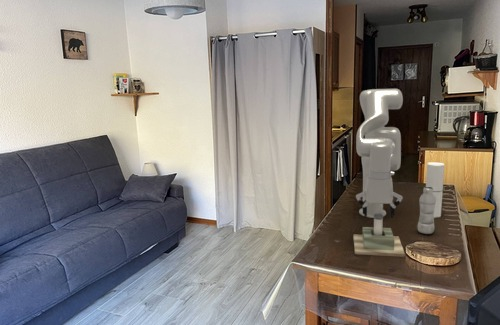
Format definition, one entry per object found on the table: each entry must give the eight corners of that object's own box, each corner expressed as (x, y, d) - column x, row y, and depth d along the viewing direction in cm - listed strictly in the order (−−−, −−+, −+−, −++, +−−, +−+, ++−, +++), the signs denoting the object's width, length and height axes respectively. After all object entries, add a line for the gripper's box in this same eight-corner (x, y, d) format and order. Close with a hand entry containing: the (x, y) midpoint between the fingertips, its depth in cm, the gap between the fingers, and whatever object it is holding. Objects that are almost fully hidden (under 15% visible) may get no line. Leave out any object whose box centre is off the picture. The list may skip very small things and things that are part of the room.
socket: (353, 236, 161) (353, 224, 160) (398, 239, 157) (399, 226, 155) (354, 254, 146) (355, 240, 144) (404, 256, 142) (405, 242, 140)
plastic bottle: (413, 231, 163) (416, 187, 159) (425, 228, 166) (428, 184, 161) (425, 237, 157) (428, 191, 153) (437, 234, 160) (440, 188, 155)
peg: (372, 241, 153) (373, 213, 150) (381, 242, 152) (382, 213, 149) (373, 245, 150) (374, 216, 147) (382, 245, 149) (383, 216, 146)
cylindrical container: (425, 217, 178) (429, 165, 173) (422, 211, 185) (425, 162, 180) (442, 217, 177) (446, 165, 171) (438, 212, 184) (442, 162, 178)
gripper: (402, 171, 146) (400, 213, 151) (355, 171, 150) (355, 211, 155) (405, 177, 139) (403, 220, 144) (356, 177, 143) (355, 219, 148)
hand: (378, 216), depth 149 cm, fingers open, 9 cm apart
